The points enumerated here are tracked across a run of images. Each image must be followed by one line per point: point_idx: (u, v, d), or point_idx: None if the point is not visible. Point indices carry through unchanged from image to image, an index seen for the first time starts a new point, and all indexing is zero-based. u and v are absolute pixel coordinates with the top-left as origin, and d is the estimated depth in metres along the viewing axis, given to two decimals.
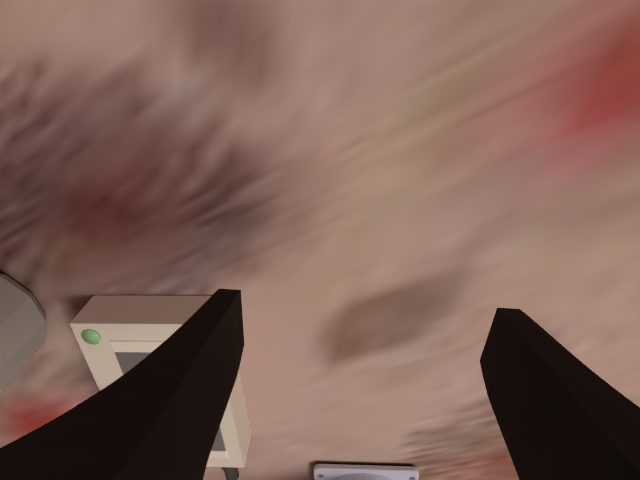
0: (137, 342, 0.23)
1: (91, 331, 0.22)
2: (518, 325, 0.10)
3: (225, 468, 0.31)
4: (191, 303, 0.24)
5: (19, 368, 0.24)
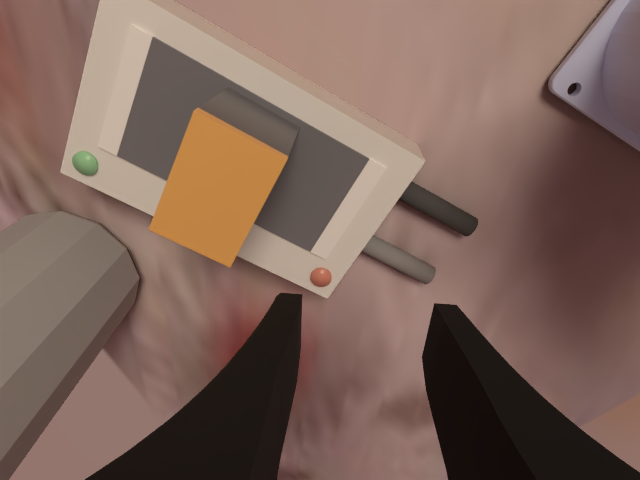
0: (109, 113, 0.16)
1: (75, 155, 0.17)
2: (449, 320, 0.10)
3: (441, 217, 0.19)
4: None
5: (100, 271, 0.19)
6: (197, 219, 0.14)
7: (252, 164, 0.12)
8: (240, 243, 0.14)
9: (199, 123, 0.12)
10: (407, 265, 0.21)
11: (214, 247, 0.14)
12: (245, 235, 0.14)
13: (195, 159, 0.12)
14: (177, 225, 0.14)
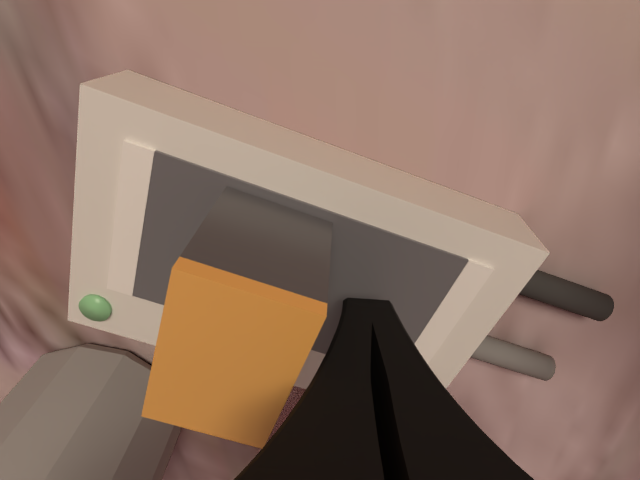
0: (114, 249, 0.12)
1: (81, 300, 0.13)
2: (375, 315, 0.10)
3: (562, 304, 0.14)
4: None
5: (134, 423, 0.15)
6: (206, 399, 0.09)
7: (274, 327, 0.08)
8: (272, 421, 0.09)
9: (183, 284, 0.08)
10: (518, 363, 0.16)
11: (236, 428, 0.10)
12: (278, 411, 0.09)
13: (187, 329, 0.08)
14: (179, 408, 0.09)
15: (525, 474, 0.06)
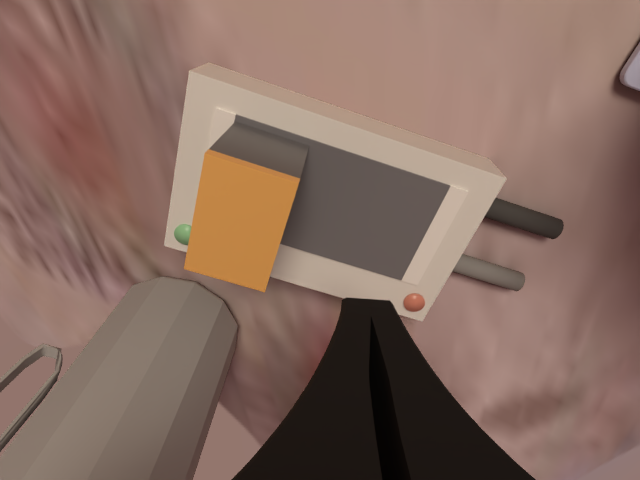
0: None
1: (176, 229, 0.18)
2: (376, 315, 0.10)
3: (524, 225, 0.19)
4: None
5: (208, 328, 0.21)
6: (226, 252, 0.14)
7: (267, 193, 0.13)
8: (270, 268, 0.14)
9: (211, 164, 0.13)
10: (495, 276, 0.21)
11: (246, 274, 0.15)
12: (273, 259, 0.14)
13: (214, 197, 0.13)
14: (209, 260, 0.14)
15: (527, 474, 0.06)
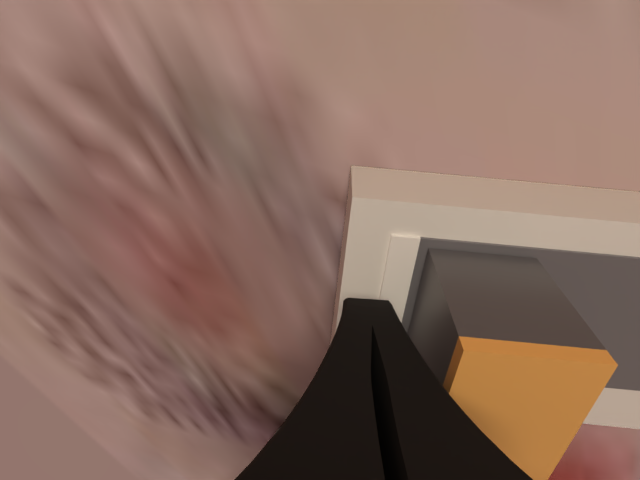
0: None
1: None
2: (374, 315, 0.10)
3: None
4: (345, 224, 0.13)
5: None
6: None
7: (562, 384, 0.08)
8: (551, 467, 0.10)
9: (474, 362, 0.08)
10: None
11: None
12: (558, 458, 0.09)
13: (473, 400, 0.09)
14: None
15: (524, 474, 0.06)
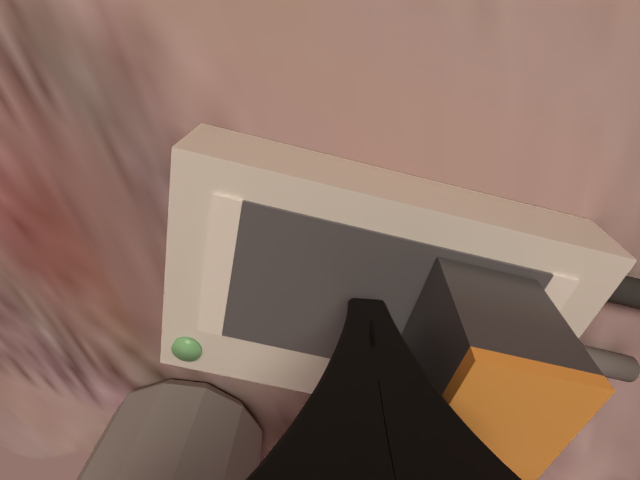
0: (204, 294, 0.13)
1: (173, 344, 0.14)
2: (367, 314, 0.10)
3: None
4: None
5: (225, 455, 0.16)
6: None
7: (559, 403, 0.09)
8: None
9: (483, 373, 0.08)
10: (600, 367, 0.15)
11: None
12: (539, 473, 0.10)
13: (473, 409, 0.09)
14: None
15: (512, 473, 0.06)
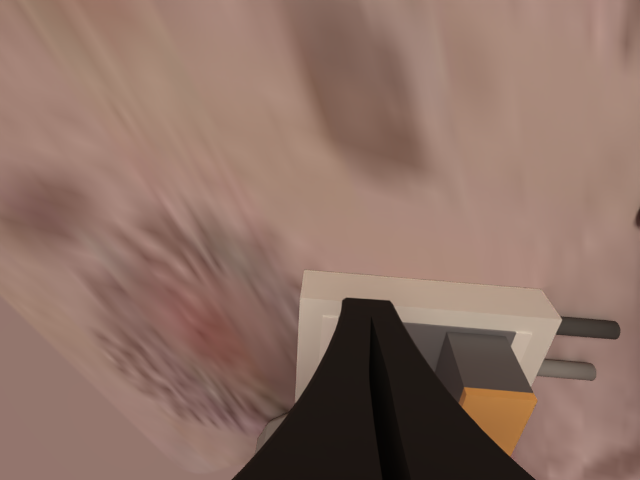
0: None
1: None
2: (376, 315, 0.10)
3: (585, 335, 0.23)
4: None
5: None
6: None
7: (512, 409, 0.18)
8: (511, 449, 0.19)
9: (471, 399, 0.17)
10: (569, 373, 0.24)
11: None
12: (514, 444, 0.19)
13: (471, 416, 0.18)
14: None
15: (526, 474, 0.06)
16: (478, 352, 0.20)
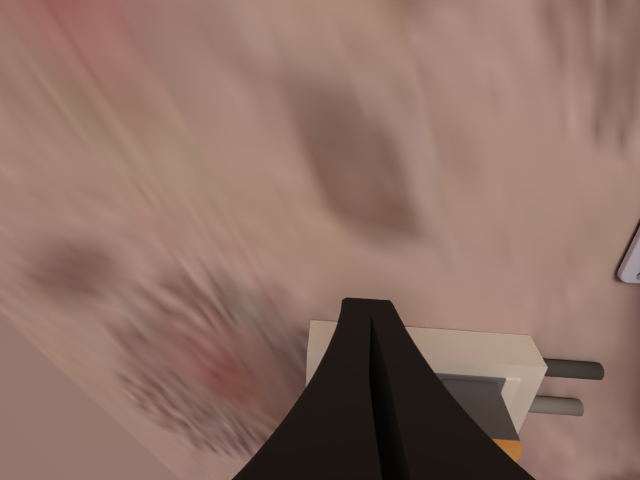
0: None
1: None
2: (376, 315, 0.10)
3: (572, 377, 0.24)
4: None
5: None
6: None
7: None
8: None
9: None
10: (558, 410, 0.26)
11: None
12: None
13: None
14: None
15: (527, 474, 0.06)
16: (470, 399, 0.21)
